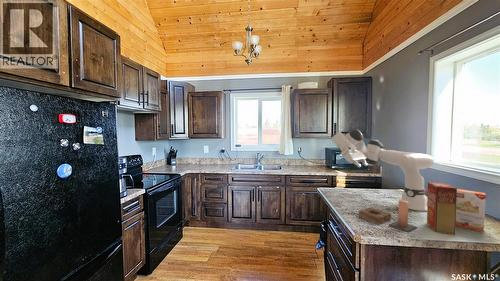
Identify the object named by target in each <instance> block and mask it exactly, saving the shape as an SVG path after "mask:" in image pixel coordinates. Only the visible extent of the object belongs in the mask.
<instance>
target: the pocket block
mask: <svg viewBox="0 0 500 281" xmlns="http://www.w3.org/2000/svg"><path fill="white" fill-rule="evenodd" d="M358 218H359V219H362V220H365V221H367V222H371V223H372V224H376V225H383V224H385V223H387V222H390V221H392V213H390V212H386V211H383V210H379V209H376V208H372V207H367V208H364V209H361V210H359V211H358Z"/></svg>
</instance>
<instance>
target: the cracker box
mask: <svg viewBox="0 0 500 281" xmlns="http://www.w3.org/2000/svg"><path fill="white" fill-rule="evenodd" d="M486 195H487V194H486V192H481V191H473V190H466V189H460V188H457V198H456V227H461V228H464V229H468V228H469V230H473V229H474V230H473V231H477V230H478V231H477V232H481V231H482V232H481V233H485V232H484V231H485V217H486V216H485V215H486V198H487V196H486Z"/></svg>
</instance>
